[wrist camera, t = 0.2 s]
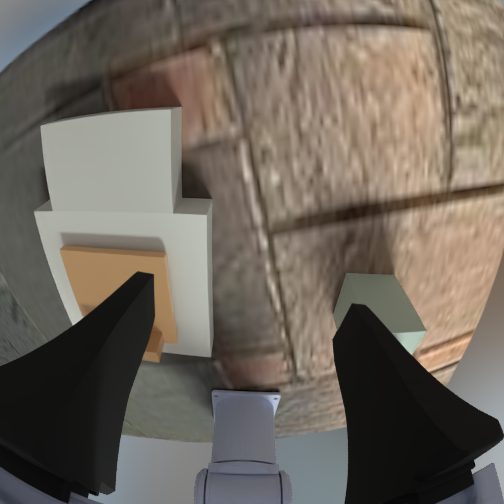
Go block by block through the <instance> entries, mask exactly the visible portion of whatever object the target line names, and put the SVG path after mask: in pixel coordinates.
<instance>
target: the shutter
mask: <svg viewBox="0 0 504 504" xmlns="http://www.w3.org/2000/svg"><path fill="white" fill-rule="evenodd" d="M60 254H61V257H62V260H63V264H64V267H65V270H66V273H67V276H68V279H69V282H70V285H71V288H72V290H73V293H74V296H75V299H76V301H77V304H78V306H79V309H80V311H81V314H82V316H83V317H85V316H86V315H87V314H88V313H90V312H91V311H92V310H93V309H95V308H96V307H97V306H98V305H99V304H101V303H102V302H103V301H104V300H105V299H106V298H108V297H109V296H110V295H111V294H112V293H113V292H114V291H116V290H117V289H118V288H119V287H120V286H121V285H122V284H123V283H124V282H126V281H127V280H128V279H129V278H130V277H131V276H132V275H133V274H135V273H136V272H137V271H140V272H145V273H151V274H154V295H155V320H154V324H153V328H152V331H151V335H150V339H149V342H148V345H147V347H146V350H145V353H144V355H143V358H142V360H144V361H151V362H158V363H159V361H160V358H161V354H162V350H163V347H164V343H171V344H177V342H178V334H177V328H176V321H175V315H174V308H173V301H172V294H171V286H170V278H169V270H168V261H167V252H153V251H137V250H123V249H108V248H93V247H79V246H65V245H63V247H62V248H61V249H60Z"/></svg>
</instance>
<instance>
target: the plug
mask: <svg viewBox="0 0 504 504" xmlns="http://www.w3.org/2000/svg"><path fill="white" fill-rule="evenodd" d="M352 303H355V304H364V305H366V306H368V307H369V308H370V309H371V310H372V312H373V313H374V314H375V315H376V316H377V317H378V318H379V319H380V320H381V321H382V323H383V324H384V325H385V326H386V327H387V328H388V329H389V331H390V332H391V333H392V334H393V335H394V336H395V337H396V339H397V340H398V341H399V342H400V343H401V344H402V345H403V346H404V347H405V349H406V350H407V351H408V352H409V353H410V354H411V355H412V353H413V352H414V350H415V349H416V347H417V346H418V344H419V343H420V341H421V339H422V338H423V336H424V335H425V333H426V331H427V330H426V329H425V327H424V325H423V323H422V321H421V319H420V318H419V316H418V314H417V312H416V310H415V309H414V307H413V305H412V303H411V302H410V300H409V298H408V296H407V295H406V293H405V291H404V290H403V288H402V286H401V285H400V283H399V281H398V280H397V278H396V276H395V275H385V274H360V273H346V275H345V279H344V282H343V285H342V288H341V291H340V294H339V298H338V301H337V304H336V307H335V310H334V313H333V317H334V321H335V324H336V328H337V330H338V329H339V327H340V325H341V323H342V321H343V319H344V317H345V315H346V313H347V312H348V310H349V308H350V306H351V304H352Z"/></svg>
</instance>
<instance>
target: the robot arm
mask: <svg viewBox="0 0 504 504" xmlns="http://www.w3.org/2000/svg"><path fill="white" fill-rule="evenodd" d="M154 320H155V295H154V274H151V273H145V272H140V271H137V272H136V273H135V274H133V275H132V276H131V277H130V278H129V279H128V280H127V281H126V282H124V283H123V284H122V285H121V286H120V287H119V288H118V289H117V290H116V291H114V292H113V293H112V294H111V295H110V296H109V297H108V298H106V299H105V300H104V301H103V302H102V303H101V304H99V305H98V306H97V307H96V308H95V309H93V310H92V311H91V312H90V313H88V314H87V315H86V316H85V317H83V318H82V319H81V320H80V321H78V322H77V323H76V324H74V325H73V326H72V327H70V328H69V329H68V330H66V331H65V332H63V333H62V334H60V335H59V336H57V337H56V338H54V339H53V340H51V341H49V342H47V343H46V344H44V345H42V346H40V347H39V348H37V349H35V350H34V351H32V352H30V353H28V354H26V355H24V356H22V357H20V358H18V359H16V360H14V361H11V362H9V363H7V364H5V365H2V366H0V504H102V503H99V502H96V501H93V500H91V499H88V495H89V493H90V494H92V495H95V496H98V495H99V492H100V493H103V494H106V495H108V494H110V493H112V492H114V491H115V484H116V471H117V460H118V452H119V443H120V438H121V432H122V426H123V421H124V416H125V411H126V406H127V402H128V398H129V394H130V391H131V388H132V385H133V382H134V380H135V377H136V374H137V371H138V369H139V366H140V363H141V361H142V358H143V355H144V353H145V350H146V347H147V345H148V342H149V339H150V335H151V331H152V328H153V324H154ZM332 340H333V353H334V362H335V367H336V372H337V376H338V381H339V385H340V390H341V394H342V399H343V404H344V408H345V414H346V420H347V432H348V479H347V489H346V497H345V504H504V500H503V496H502V492H501V487H500V483H499V479H498V476H497V472H496V469H495V465H494V463H491V464H489V465H488V466H486V467H484V468H483V469H481V470H479V471H477V472H475V473H474V474H472V472H471V469H473V468H474V467H475V462H474V460H475V459H476V458H478V457H479V456H481V455H482V454H484V453H485V452H487V451H488V450H490V449H491V448H493V447H494V446H495V445H496V444H498V443H499V442H500V441H501V440H503V438H504V434H503V431H502V428H501V426H500V423H499V421H498V420H497V419H495V418H494V417H492V416H490V415H488V414H486V413H484V412H482V411H480V410H478V409H477V408H475V407H473V406H472V405H470V404H469V403H467V402H465V401H464V400H462V399H461V398H459V397H458V396H457V395H455V394H454V393H453V392H451V391H450V390H449V389H448V388H446V387H445V386H444V385H443V384H441V383H440V382H439V381H438V380H437V379H436V378H435V377H433V376H432V375H431V374H430V373H429V372H428V371H427V370H426V369H425V368H424V367H423V366H422V365H421V364H420V363H419V362H418V361H417V360H416V359H415V358H414V357H413V356H412V355H411V354H410V353H409V352H408V351H407V350H406V349H405V347H404V346H403V345H402V344H401V343H400V342H399V341H398V340H397V339H396V337H395V336H394V335H393V334H392V333H391V332H390V331H389V329H388V328H387V327H386V326H385V325H384V324H383V323H382V321H381V320H380V319H379V318H378V317H377V316H376V315H375V314H374V313H373V312H372V310H371V309H370V308H369V307H368V306H366V305H364V304H355V303H352V304H351V306H350V308H349V310H348V312H347V313H346V315H345V317H344V319H343V321H342V323H341V325H340V327H339V329H338V330H337V332H336V334H335V336H334V338H333V339H332ZM280 397H281V395H280V393H279V392H246V391H228V390H212V404H213V415H214V422H215V423H214V435H213V447H212V460H211V463H209V466H208V469H202V470H201V471H200V472H199V473H198V474H197V477H196V481H195V489H194V504H292V486H291V480H290V476H289V475H288V474H287V473H286V472H285V471H283V470H282V471H279V465H278V464H276V456H275V429H274V415H275V412H276V409H277V406H278V403H279V400H280Z"/></svg>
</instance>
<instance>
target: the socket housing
mask: <svg viewBox="0 0 504 504" xmlns="http://www.w3.org/2000/svg"><path fill="white" fill-rule="evenodd" d="M41 138H42V148H43V157H44V164H45V171H46V178H47V184H48V190H49V195H50V200H48V201H47V202H46V203H44V204H43V205H42V206H40V207H39V208H38V209H36V210H35V211H34V214H35V218H36V222H37V226H38V230H39V234H40V237H41V241H42V244H43V247H44V251H45V254H46V257H47V260H48V263H49V266H50V269H51V272H52V275H53V278H54V280H55V283H56V286H57V288H58V291H59V294H60V296H61V299H62V301H63V304H64V306H65V308H66V311H67V313H68V315H69V318H70V320H71V322H72V324H73V325H74V324H76V323H77V322H78V321H80V320H81V319H82V318H83V316H82V314H81V311H80V309H79V306H78V304H77V301H76V299H75V296H74V293H73V290H72V288H71V285H70V282H69V279H68V276H67V273H66V270H65V267H64V264H63V260H62V257H61V254H60V249H61V248H62V247H63V245H65V246H79V247H93V248H108V249H123V250H137V251H153V252H167V261H168V270H169V278H170V286H171V294H172V301H173V308H174V315H175V321H176V328H177V334H178V342H177V344H171V343H164V347H163V350H162V352H165V353H174V354H182V355H192V356H202V357H211V353H212V345H213V338H214V328H213V289H212V199H201V198H182V107H157V108H142V109H130V110H120V111H111V112H103V113H95V114H88V115H82V116H76V117H70V118H65V119H60V120H57V121H54V122H50V123H47V124H44V125H41Z"/></svg>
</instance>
